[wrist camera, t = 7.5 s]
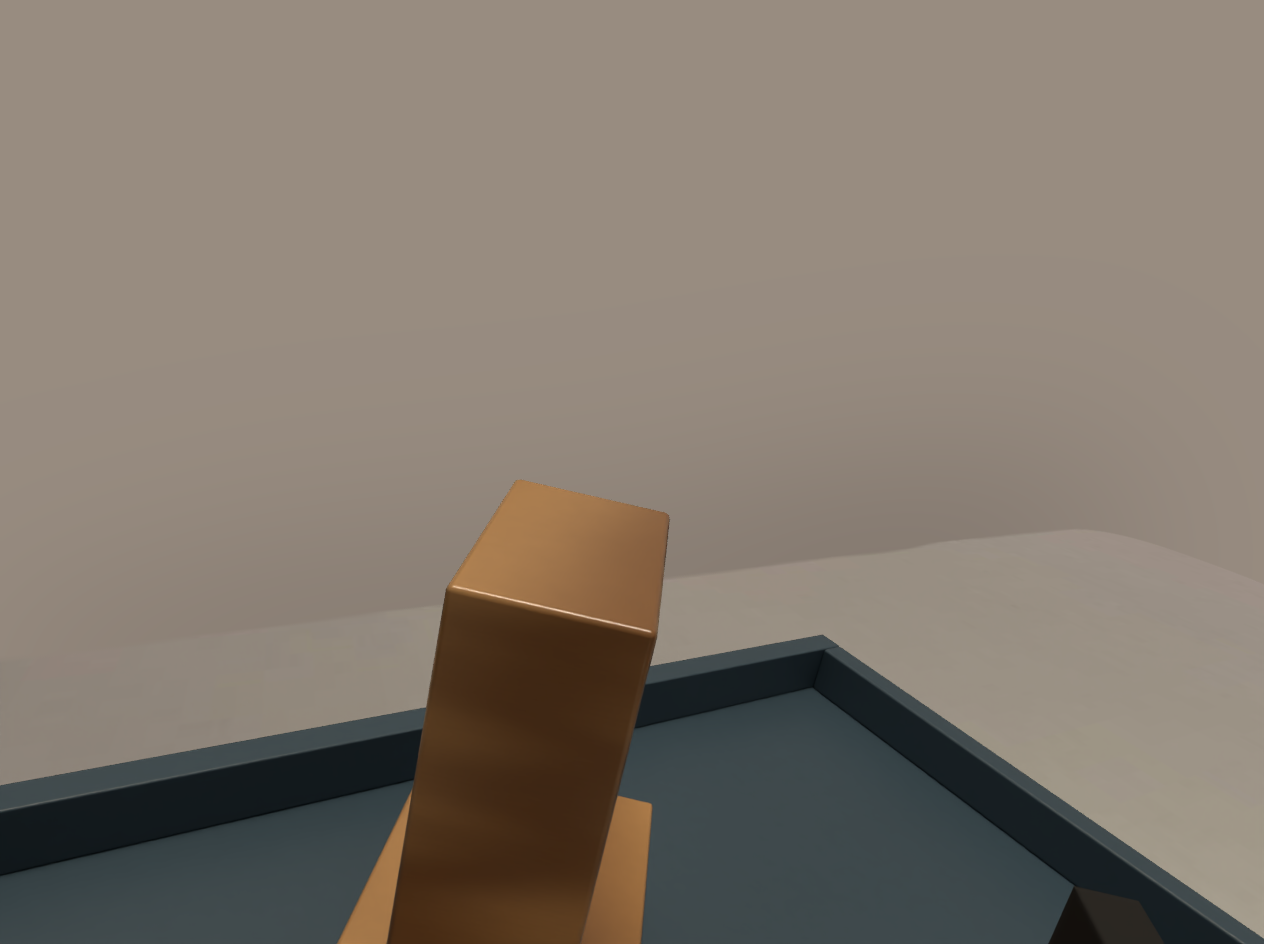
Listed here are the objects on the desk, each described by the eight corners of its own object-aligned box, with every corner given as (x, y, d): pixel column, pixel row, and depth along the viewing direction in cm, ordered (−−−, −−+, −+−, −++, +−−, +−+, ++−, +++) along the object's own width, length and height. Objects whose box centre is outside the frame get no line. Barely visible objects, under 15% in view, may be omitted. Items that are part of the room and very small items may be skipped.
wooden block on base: (67, 1614, 10) (107, 779, 6) (414, 836, 21) (489, 399, 18) (542, 1729, 10) (815, 942, 6) (631, 886, 21) (744, 457, 18)
